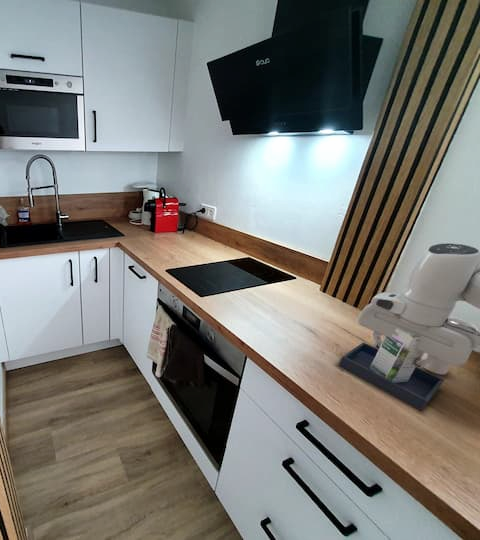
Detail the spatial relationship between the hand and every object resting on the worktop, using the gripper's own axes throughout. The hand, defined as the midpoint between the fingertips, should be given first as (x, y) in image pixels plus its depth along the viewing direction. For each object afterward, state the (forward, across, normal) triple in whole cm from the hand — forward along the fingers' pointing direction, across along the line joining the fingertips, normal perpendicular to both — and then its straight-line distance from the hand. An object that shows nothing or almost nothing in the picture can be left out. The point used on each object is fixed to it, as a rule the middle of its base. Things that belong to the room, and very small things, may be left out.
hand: (397, 356), depth 73 cm
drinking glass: (+7, -5, -16) cm, 18 cm away
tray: (+7, 0, 0) cm, 7 cm away
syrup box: (+6, 0, 0) cm, 7 cm away
